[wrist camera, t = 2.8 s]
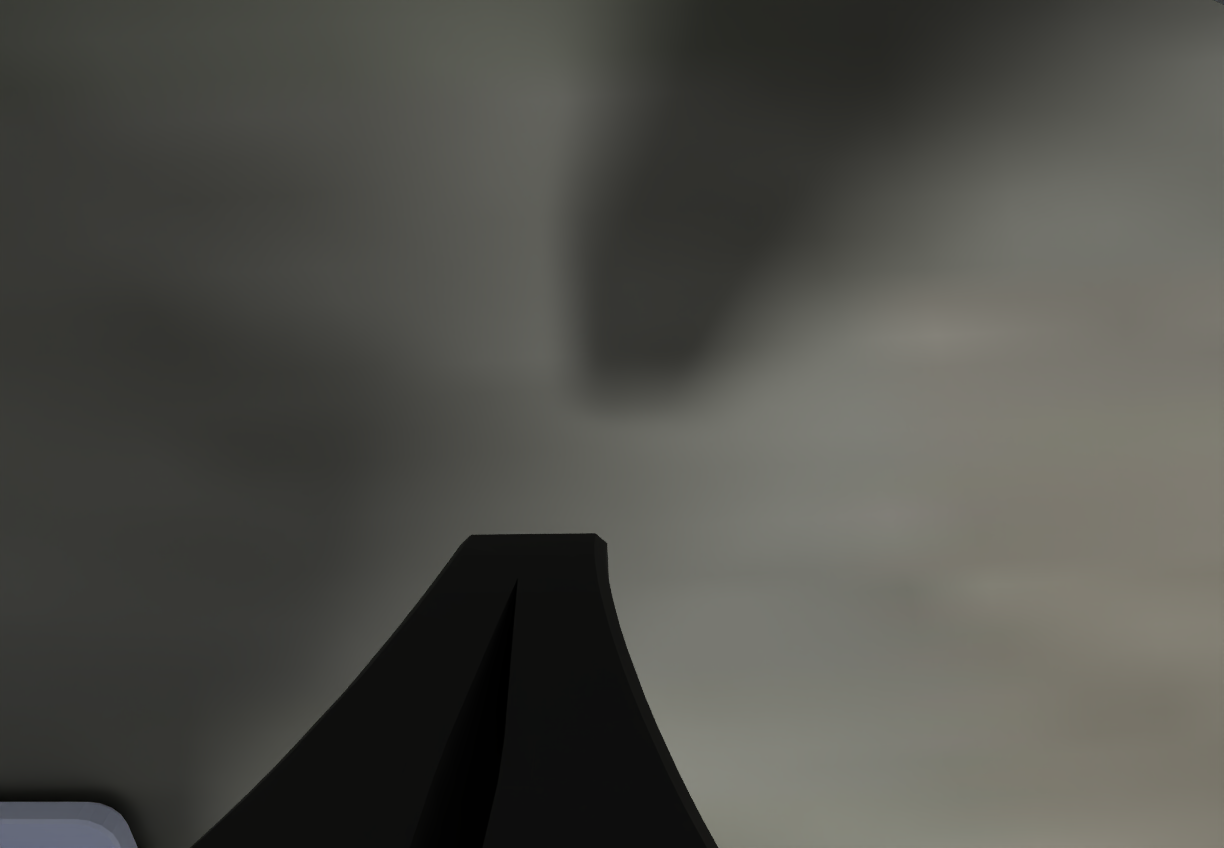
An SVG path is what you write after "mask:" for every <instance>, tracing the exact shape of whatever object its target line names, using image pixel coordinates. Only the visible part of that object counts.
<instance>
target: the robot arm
mask: <svg viewBox="0 0 1224 848" xmlns="http://www.w3.org/2000/svg"><path fill="white" fill-rule="evenodd" d="M0 848H138V847H137V845H136V843H135V840H134V838H133V835H132V833H131V831H130V828H129V826H128V824H127V822H126V821H125V819H124V818H123V816H122V815H121V814H120V813H119V812H117V811H116V810H114V809H113V808H112V807H109V806H106V805H104V804H101V803H95V802H0ZM191 848H718V846H717V845H716V843H715V841H714V839H713V837H712V836H711V834H710V832H709V830H708V828H707V827H706V825H705V823H704V821H703V819H702V817H701V815H700V814H699V812H698V810H697V808H696V806H695V804H694V802H693V800H692V798H691V796H690V794H689V792H688V790H687V788H686V786H685V784H684V782H683V780H682V778H681V776H680V774H679V772H678V770H677V768H676V766H675V763H674V761H673V759H672V757H671V755H670V753H669V750H668V748H667V746H666V744H665V742H664V739H663V737H662V735H661V733H660V731H659V729H658V726H657V724H656V722H655V719H654V717H653V715H652V712H651V710H650V707H649V705H648V703H647V700H646V698H645V695H644V693H643V690H642V687H641V685H640V682H639V679H638V676H637V674H636V671H635V668H634V666H633V663H632V660H631V658H630V655H629V652H628V649H627V647H626V644H625V640H624V637H623V634H622V631H621V628H620V625H619V621H618V617H617V613H616V610H615V606H614V602H613V598H612V594H611V589H610V584H609V574H608V554H607V543H606V542H605V541H604V540H602V539H601V538H600V537H599V536H598V535H597V534H595V533H586V534H497V535H471V536H469V537H468V538H467V539H466V540H465V541H464V542H463V543H462V544H461V545H460V547H459V548H458V549H457V551H456V552H455V553H454V555H453V556H452V558H451V559H450V560H449V562H448V563H447V564H446V566H445V567H444V568H443V570H442V571H441V572H440V574H439V575H438V577H437V578H436V579H435V581H434V582H433V583H432V585H431V586H430V587H429V588H428V590H427V591H426V592H425V594H424V595H423V596H422V598H421V599H420V600H419V602H418V603H417V604H416V605H415V607H414V608H413V609H412V610H411V612H410V613H409V614H408V616H407V617H406V618H405V619H404V621H403V622H402V623H401V625H400V626H399V627H398V628H397V630H396V631H395V632H394V633H393V634H392V636H391V637H390V638H389V639H388V640H387V642H386V643H385V644H384V645H383V646H382V648H381V649H380V650H379V651H378V652H377V654H376V655H375V656H374V657H373V658H372V660H371V661H370V662H369V663H368V664H367V666H366V667H365V668H364V669H363V670H362V672H361V673H360V674H359V675H358V676H357V678H356V679H355V680H354V681H353V682H352V684H351V685H350V686H349V687H348V688H347V689H346V690H345V692H344V693H343V694H342V695H341V696H340V697H339V698H338V699H337V700H336V702H335V703H334V704H333V705H332V706H331V707H330V708H329V709H328V710H327V711H326V712H325V713H324V715H323V716H322V717H321V718H320V719H319V720H318V721H317V722H316V723H315V724H314V725H313V726H312V727H311V729H310V730H309V731H308V732H307V733H306V734H305V735H304V736H303V737H302V738H301V739H300V740H299V742H298V743H297V744H296V745H295V746H294V747H293V748H292V749H291V750H290V751H289V752H288V753H287V754H286V756H285V757H284V758H283V759H282V760H281V761H280V762H279V763H278V764H277V765H276V766H275V767H274V768H273V769H272V770H271V771H270V772H269V773H268V774H267V775H266V776H265V777H264V778H263V779H262V780H261V781H260V782H259V783H258V784H257V785H256V786H255V787H254V788H253V789H252V790H251V791H250V792H249V793H248V794H247V795H246V796H245V797H244V798H243V799H242V800H241V801H240V802H239V803H238V804H237V805H236V806H235V807H233V808H232V809H231V810H230V811H229V812H228V813H227V814H226V815H225V816H224V817H223V818H222V819H221V820H220V821H219V822H218V823H216V824H215V825H214V826H213V827H212V828H211V829H210V830H209V831H208V832H207V833H206V834H205V835H203V836H202V837H201V838H200V839H199V840H198V841H197V842H196V843H195V844H194V845H193V846H192V847H191Z"/></svg>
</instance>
